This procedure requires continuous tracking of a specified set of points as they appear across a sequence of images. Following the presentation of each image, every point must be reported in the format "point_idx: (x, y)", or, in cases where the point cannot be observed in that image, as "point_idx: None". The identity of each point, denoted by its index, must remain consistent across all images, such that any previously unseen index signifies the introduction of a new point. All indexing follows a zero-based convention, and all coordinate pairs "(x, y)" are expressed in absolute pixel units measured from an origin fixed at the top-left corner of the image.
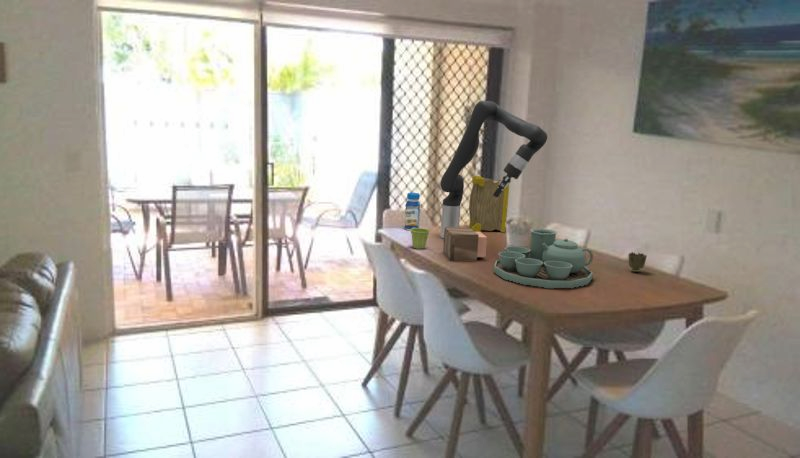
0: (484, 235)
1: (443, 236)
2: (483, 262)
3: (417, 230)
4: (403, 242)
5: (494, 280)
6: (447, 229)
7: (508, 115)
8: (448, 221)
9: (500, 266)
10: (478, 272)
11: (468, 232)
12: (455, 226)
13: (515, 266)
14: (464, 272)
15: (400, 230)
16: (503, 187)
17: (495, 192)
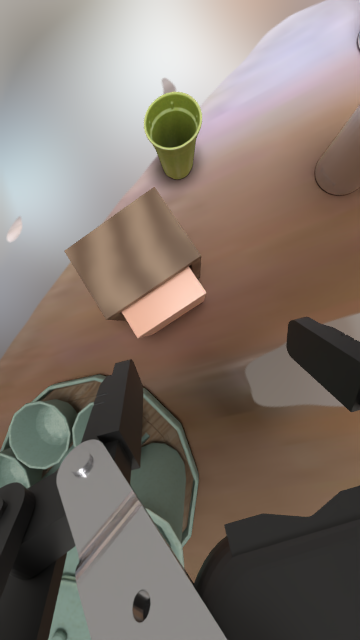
0: (158, 323)
1: (319, 159)
2: (131, 337)
3: (192, 109)
4: (206, 111)
5: (16, 396)
6: (123, 210)
7: None
8: (355, 125)
9: (75, 392)
10: (51, 353)
11: (120, 281)
12: (356, 161)
13: (39, 437)
14: (37, 330)
15: (342, 26)
16: (12, 579)
17: (111, 391)
